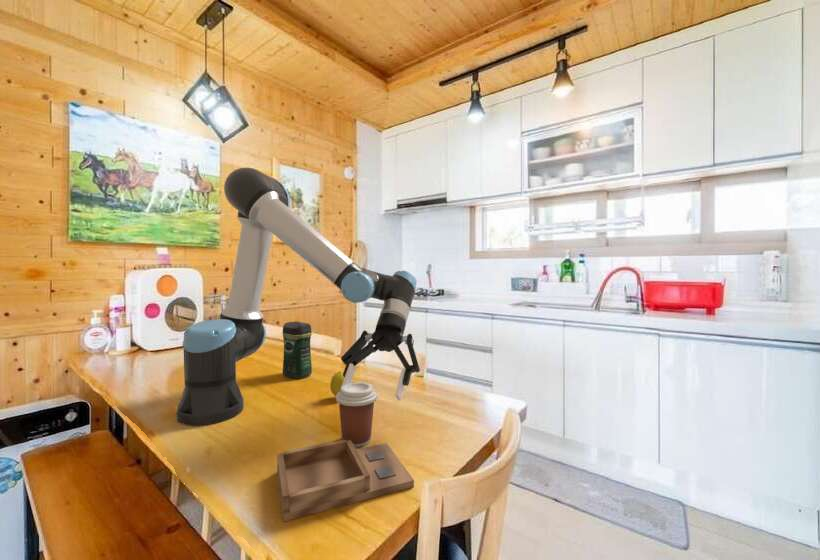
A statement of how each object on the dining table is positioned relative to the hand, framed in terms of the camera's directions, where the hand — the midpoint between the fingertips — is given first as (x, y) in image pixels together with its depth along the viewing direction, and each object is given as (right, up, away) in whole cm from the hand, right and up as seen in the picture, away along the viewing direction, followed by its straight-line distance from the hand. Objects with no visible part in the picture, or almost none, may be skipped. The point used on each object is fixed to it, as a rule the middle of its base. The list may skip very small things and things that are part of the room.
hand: (370, 394), depth 83 cm
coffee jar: (-30, -7, +40) cm, 51 cm away
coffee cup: (-3, -9, -3) cm, 10 cm away
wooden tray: (-3, -10, -18) cm, 20 cm away
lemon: (-11, -8, +20) cm, 24 cm away
